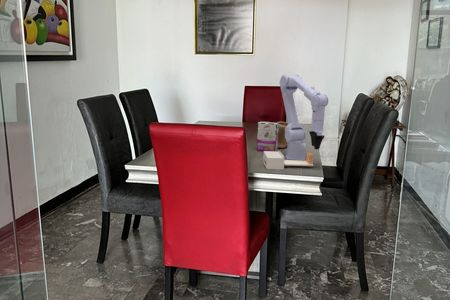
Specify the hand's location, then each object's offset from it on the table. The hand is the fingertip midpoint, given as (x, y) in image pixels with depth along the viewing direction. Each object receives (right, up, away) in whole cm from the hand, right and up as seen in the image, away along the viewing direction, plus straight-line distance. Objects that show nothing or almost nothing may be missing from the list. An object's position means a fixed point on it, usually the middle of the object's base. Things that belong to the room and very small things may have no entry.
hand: (315, 147), depth 195 cm
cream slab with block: (-9, -8, 0) cm, 12 cm away
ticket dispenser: (-21, -9, 0) cm, 23 cm away
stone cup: (-11, +1, +45) cm, 46 cm away
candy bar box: (-21, -2, +31) cm, 38 cm away
